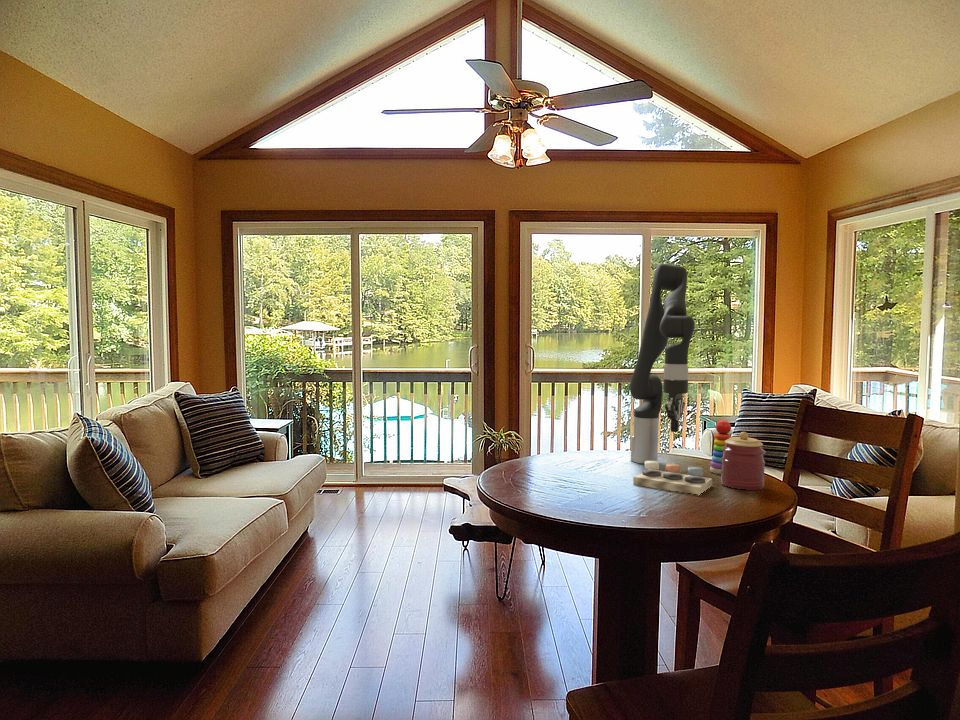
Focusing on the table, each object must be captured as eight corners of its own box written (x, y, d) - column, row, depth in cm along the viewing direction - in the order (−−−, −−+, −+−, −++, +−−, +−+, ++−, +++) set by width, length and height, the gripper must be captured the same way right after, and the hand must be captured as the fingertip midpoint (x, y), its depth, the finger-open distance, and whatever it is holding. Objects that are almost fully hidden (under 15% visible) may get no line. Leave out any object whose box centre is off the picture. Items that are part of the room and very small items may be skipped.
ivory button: (642, 468, 193) (642, 462, 193) (647, 465, 197) (647, 460, 197) (656, 470, 190) (656, 464, 190) (661, 467, 194) (661, 461, 194)
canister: (745, 480, 198) (746, 428, 198) (773, 489, 186) (775, 434, 185) (712, 482, 195) (713, 429, 194) (738, 492, 182) (740, 435, 182)
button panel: (633, 484, 190) (633, 474, 190) (648, 476, 202) (648, 466, 201) (699, 495, 178) (700, 484, 178) (712, 486, 189) (712, 476, 189)
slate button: (685, 474, 185) (685, 468, 185) (689, 472, 189) (690, 466, 188) (700, 477, 182) (700, 470, 182) (704, 474, 186) (704, 468, 186)
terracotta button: (663, 471, 189) (663, 465, 189) (668, 468, 193) (668, 462, 193) (677, 473, 186) (678, 467, 186) (682, 471, 190) (682, 464, 190)
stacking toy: (737, 475, 204) (739, 422, 204) (714, 475, 204) (716, 421, 204) (728, 470, 212) (730, 418, 211) (706, 470, 212) (707, 418, 212)
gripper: (670, 376, 196) (669, 428, 196) (657, 378, 185) (656, 433, 186) (693, 377, 191) (692, 430, 192) (681, 379, 181) (679, 435, 181)
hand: (674, 431), depth 189 cm, fingers closed
